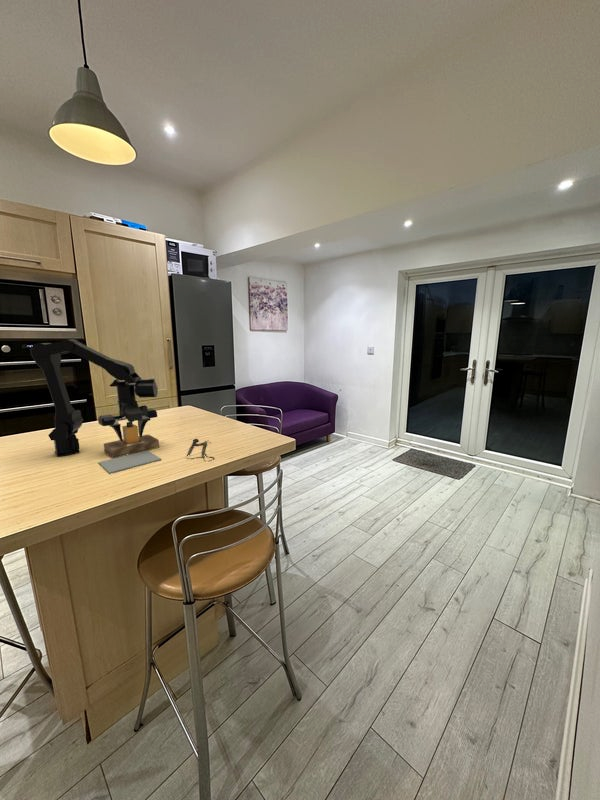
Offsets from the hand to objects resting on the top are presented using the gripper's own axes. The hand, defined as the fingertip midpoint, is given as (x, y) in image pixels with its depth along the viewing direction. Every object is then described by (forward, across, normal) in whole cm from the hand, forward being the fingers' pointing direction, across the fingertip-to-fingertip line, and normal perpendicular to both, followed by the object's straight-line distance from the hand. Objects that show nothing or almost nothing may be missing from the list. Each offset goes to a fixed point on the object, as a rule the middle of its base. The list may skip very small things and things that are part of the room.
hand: (131, 438), depth 120 cm
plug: (+4, 0, 0) cm, 4 cm away
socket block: (+4, 0, 0) cm, 4 cm away
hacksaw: (+5, +18, -20) cm, 27 cm away
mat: (+4, -5, -13) cm, 14 cm away
